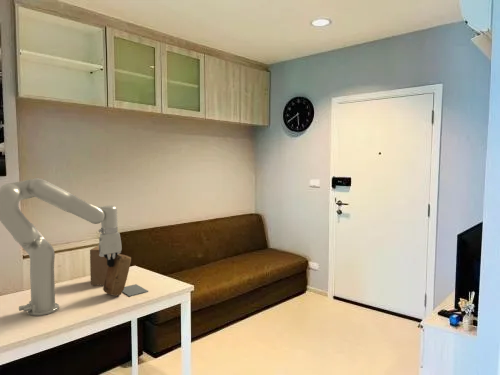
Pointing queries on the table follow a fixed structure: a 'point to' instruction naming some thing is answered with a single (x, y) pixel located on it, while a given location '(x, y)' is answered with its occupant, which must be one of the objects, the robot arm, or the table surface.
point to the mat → (134, 290)
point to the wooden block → (97, 267)
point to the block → (117, 275)
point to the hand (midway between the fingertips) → (110, 266)
